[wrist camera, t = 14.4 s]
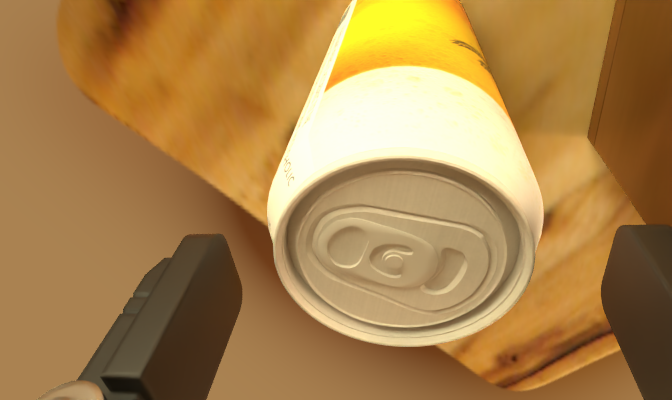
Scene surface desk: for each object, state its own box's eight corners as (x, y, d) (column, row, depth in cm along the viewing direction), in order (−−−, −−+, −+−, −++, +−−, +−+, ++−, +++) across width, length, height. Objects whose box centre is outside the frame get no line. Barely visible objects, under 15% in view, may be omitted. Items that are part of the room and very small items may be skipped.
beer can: (437, 118, 23) (472, 382, 11) (323, 82, 23) (235, 317, 11) (493, -4, 20) (629, 195, 8) (359, -48, 19) (286, 88, 7)
